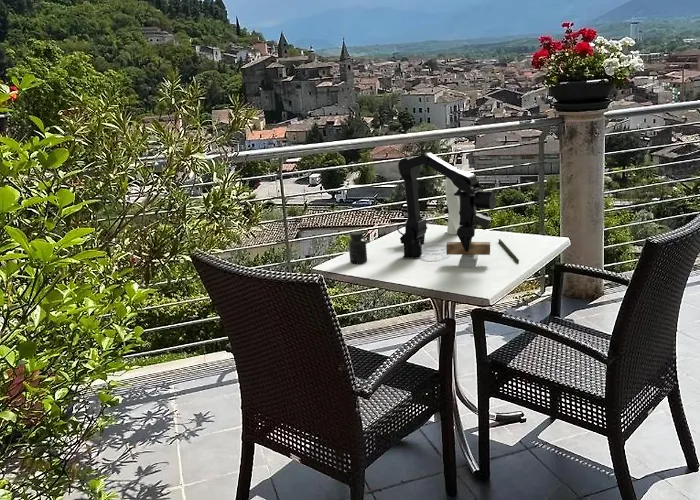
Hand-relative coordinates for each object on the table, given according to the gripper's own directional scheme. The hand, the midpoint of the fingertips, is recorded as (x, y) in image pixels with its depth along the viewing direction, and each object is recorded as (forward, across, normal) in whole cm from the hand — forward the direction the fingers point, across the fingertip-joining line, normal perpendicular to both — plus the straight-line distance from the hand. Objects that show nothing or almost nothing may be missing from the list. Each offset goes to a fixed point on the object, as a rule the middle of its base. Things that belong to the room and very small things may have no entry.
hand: (468, 248), depth 255 cm
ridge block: (+6, 0, 0) cm, 6 cm away
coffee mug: (+6, +29, +26) cm, 39 cm away
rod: (+7, +16, -14) cm, 22 cm away
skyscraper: (+7, +47, +10) cm, 48 cm away
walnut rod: (+2, 0, 0) cm, 2 cm away
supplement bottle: (+6, 0, +43) cm, 43 cm away
